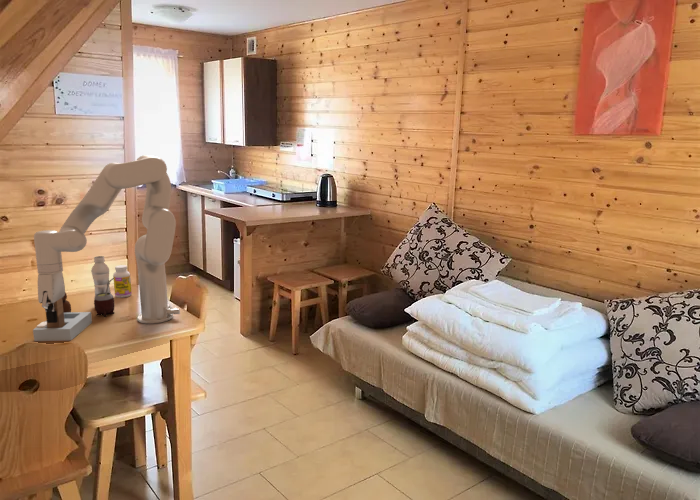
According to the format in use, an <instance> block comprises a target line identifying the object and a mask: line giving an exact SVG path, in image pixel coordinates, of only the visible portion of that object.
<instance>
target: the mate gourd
mask: <svg viewBox="0 0 700 500" xmlns="http://www.w3.org/2000/svg"><path fill="white" fill-rule="evenodd" d="M112 281H114V278H113V277H112V278H111V279H109V282H108V283H107V289H106V293H99V294H97V295H96V296H95V295H94V297H95V298H94V297H93V299H94V300H93V305H94V306H93V307H94V310H95V312H96V316H97V317H98V316H103V317H104V318H107V317H108V316H107V315H115V298H114V295H113V293H107V292H108V287H110V284H111V282H112Z"/></svg>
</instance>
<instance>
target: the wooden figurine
mask: <svg viewBox="0 0 700 500" xmlns="http://www.w3.org/2000/svg"><path fill="white" fill-rule="evenodd" d="M67 297H68V295H67V291H65V295H64V297H63V311H64V313H65V312H72V305H71V303H70V301H68V298H67Z"/></svg>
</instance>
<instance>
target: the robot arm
mask: <svg viewBox="0 0 700 500" xmlns="http://www.w3.org/2000/svg"><path fill="white" fill-rule="evenodd" d="M167 170H168V167H167V164H166V162H165V161H164V160H163V159H162V158H161V157H159V156H156V155H155V156H154V155H149V154H144V155H141V156H139V157H137V159H136V160H132V161H126V162H110V163H107V165H105V166H104V167H103V169H101V171H100V173H99V174H98V176H97V177H96V178H95V180H94V182H93V183H92V185H91V186H90V188H89V190H88V191H87V192H86V194H85V195H84V196H83V197H82V199H81V200H80V201H79V202H78V204H77V205H76V207H75V208H74V209H73V210H72V211H71V213H70V214H69V216H68V217H67V218H66V220H65V222H64V223H63V224H62V226H61V227H60V229H59V231H57V230H54V229H53V230H52V229H50V230H49V229H47V230H39V231H35V233H34V235H33V243H34V249H35V259H36V260H35V261H36V269H37V297H38V298H37V299H38V303H39V304H41V307H42V308H44V311H45V317H46V316H47V322H48V323H56V322H58V320H57V311H55V302H56V301H57V300H59V299H60V298H62V301H63V297H64V295H65V292H66V284H65V279H64V274H63V271H64V267H63V266H64V265H63V258H62V257H63V256H62V252H64V253H74V252H75V253H76V252H79V251H82V250H84V248H85V247H86V246H87V237H86V235H85V234H86V232H87V230H88V229H89V227H90V226H91V225H92V224H93V222H94V221H95V220H96V219H98V218H99V217H101V216H103V215H104V214H106V212H108V211H109V209H110V208H111V206H112V204H113V203H114V202H115V200H116V198H117V197H118V196H119V194H120V192H121V191H122V190H124V189H130V188H135V187H140V186H144V185H145V187H146V193H145V200H144V205H143V206H144V207H143V211H142V215H141V217H142V218H141V222H142V225H143V228H146V234H144V235H141V236H140V237H139V238H137V240H136V241H135V243H134V255H135V260H136V266H137V267H136V268H137V276H138V287H139V288H138V289H139V300H140V301H139V302H140V311H141V312H140V313H141V314H138V316H137V322H139V323H141V324H147V325H148V324H150V325H151V324H161V323H164V322H168V321H170V320H171V319H173V318H174V315H180V314H181V310H180V309H179V308H178V307H173V308H172V307H171V304H169V302H168V301H169V300H168V288H167V273H166V265H165V263H166V262H168V261H169V259H170V257H171V255H172V250H173V246H174V240H175V235H176V234H175V233H176V227H177V226H176V225H177V221H176V217H175V215H174V213H173V212H172V211H171V210H170V208H171V207H170V206H171V199H172V198H171V197H172V183H171V180H170V176H169V175H168V173H167ZM49 300H51V301H50V302H48V301H49ZM49 304H52V307H51V305H49Z"/></svg>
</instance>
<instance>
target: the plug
mask: <svg viewBox="0 0 700 500" xmlns="http://www.w3.org/2000/svg"><path fill="white" fill-rule="evenodd" d="M50 301H51V300H49V301H48V302H50ZM49 305H51V307H52V304H49ZM55 311H57V320H58V322H56V323H48V322H47V328H62V327H64V326H65V321H64V311H63V301H62V298H60V299H59V300H57V301H56V302H55ZM45 319H46V320H47V316H46V315H45ZM46 320H45V321H46Z"/></svg>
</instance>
